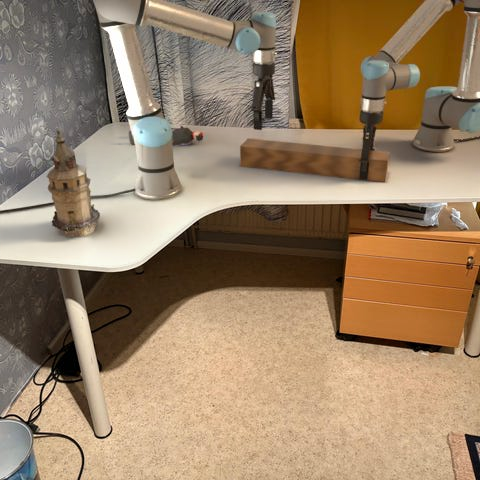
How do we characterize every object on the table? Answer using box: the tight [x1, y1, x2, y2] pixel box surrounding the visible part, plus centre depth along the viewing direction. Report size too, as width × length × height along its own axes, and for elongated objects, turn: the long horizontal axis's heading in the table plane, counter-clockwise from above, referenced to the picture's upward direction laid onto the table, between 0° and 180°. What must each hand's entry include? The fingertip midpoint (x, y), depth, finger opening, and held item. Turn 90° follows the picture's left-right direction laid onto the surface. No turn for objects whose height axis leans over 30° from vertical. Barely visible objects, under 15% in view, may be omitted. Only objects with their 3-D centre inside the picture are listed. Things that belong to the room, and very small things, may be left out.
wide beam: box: [239, 138, 391, 183], centre depth 191 cm, size 52×9×8 cm, turn 71°
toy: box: [128, 125, 204, 147], centre depth 219 cm, size 26×6×30 cm
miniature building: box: [46, 129, 101, 237], centre depth 148 cm, size 13×14×30 cm
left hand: (263, 123), depth 191 cm, fingers open, 13 cm apart
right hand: (364, 173), depth 188 cm, fingers closed on wide beam, 9 cm apart
